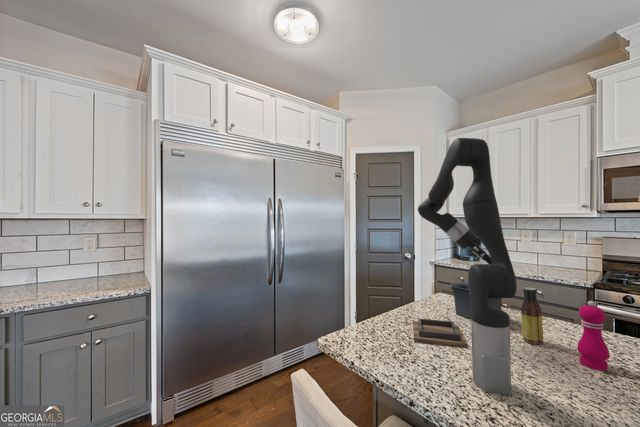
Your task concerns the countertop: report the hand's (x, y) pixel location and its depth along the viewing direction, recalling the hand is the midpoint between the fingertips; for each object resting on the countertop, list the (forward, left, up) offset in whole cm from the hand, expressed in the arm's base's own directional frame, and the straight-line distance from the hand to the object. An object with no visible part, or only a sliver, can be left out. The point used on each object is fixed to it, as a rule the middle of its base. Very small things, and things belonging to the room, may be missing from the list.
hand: (494, 264), depth 109 cm
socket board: (-4, +22, -28) cm, 36 cm away
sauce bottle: (-1, -11, -28) cm, 30 cm away
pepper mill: (-15, -22, -28) cm, 39 cm away
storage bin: (+22, +2, -28) cm, 36 cm away
